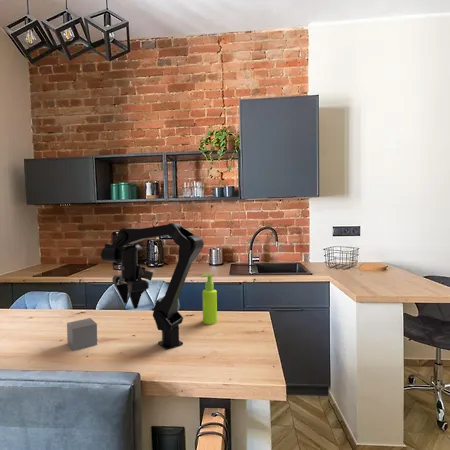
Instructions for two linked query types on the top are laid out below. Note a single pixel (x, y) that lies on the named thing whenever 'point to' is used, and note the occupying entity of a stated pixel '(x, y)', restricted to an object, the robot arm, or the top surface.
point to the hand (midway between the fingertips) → (130, 305)
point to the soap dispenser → (209, 302)
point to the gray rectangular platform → (81, 334)
